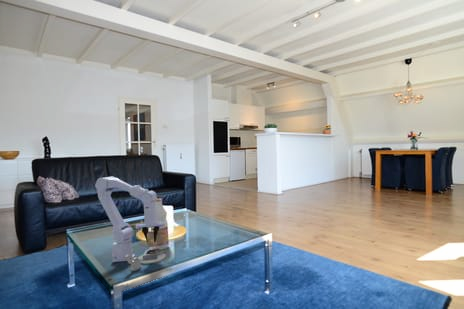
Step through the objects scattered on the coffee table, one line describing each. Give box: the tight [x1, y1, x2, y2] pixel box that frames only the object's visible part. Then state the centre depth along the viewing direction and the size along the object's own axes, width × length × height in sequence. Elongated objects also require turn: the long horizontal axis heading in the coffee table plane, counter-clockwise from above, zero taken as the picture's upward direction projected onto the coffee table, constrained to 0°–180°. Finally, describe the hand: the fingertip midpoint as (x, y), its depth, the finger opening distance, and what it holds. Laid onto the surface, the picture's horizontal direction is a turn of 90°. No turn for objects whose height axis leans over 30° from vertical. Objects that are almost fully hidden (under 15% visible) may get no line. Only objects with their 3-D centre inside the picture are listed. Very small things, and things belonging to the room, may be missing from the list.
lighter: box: [125, 254, 142, 272], centre depth 129 cm, size 7×2×8 cm, turn 144°
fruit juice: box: [150, 197, 170, 251], centre depth 160 cm, size 9×9×28 cm
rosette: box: [138, 248, 167, 265], centre depth 142 cm, size 14×14×4 cm
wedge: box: [146, 229, 155, 248], centre depth 142 cm, size 3×5×7 cm, turn 6°
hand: (151, 241), depth 142 cm, fingers closed on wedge, 3 cm apart
